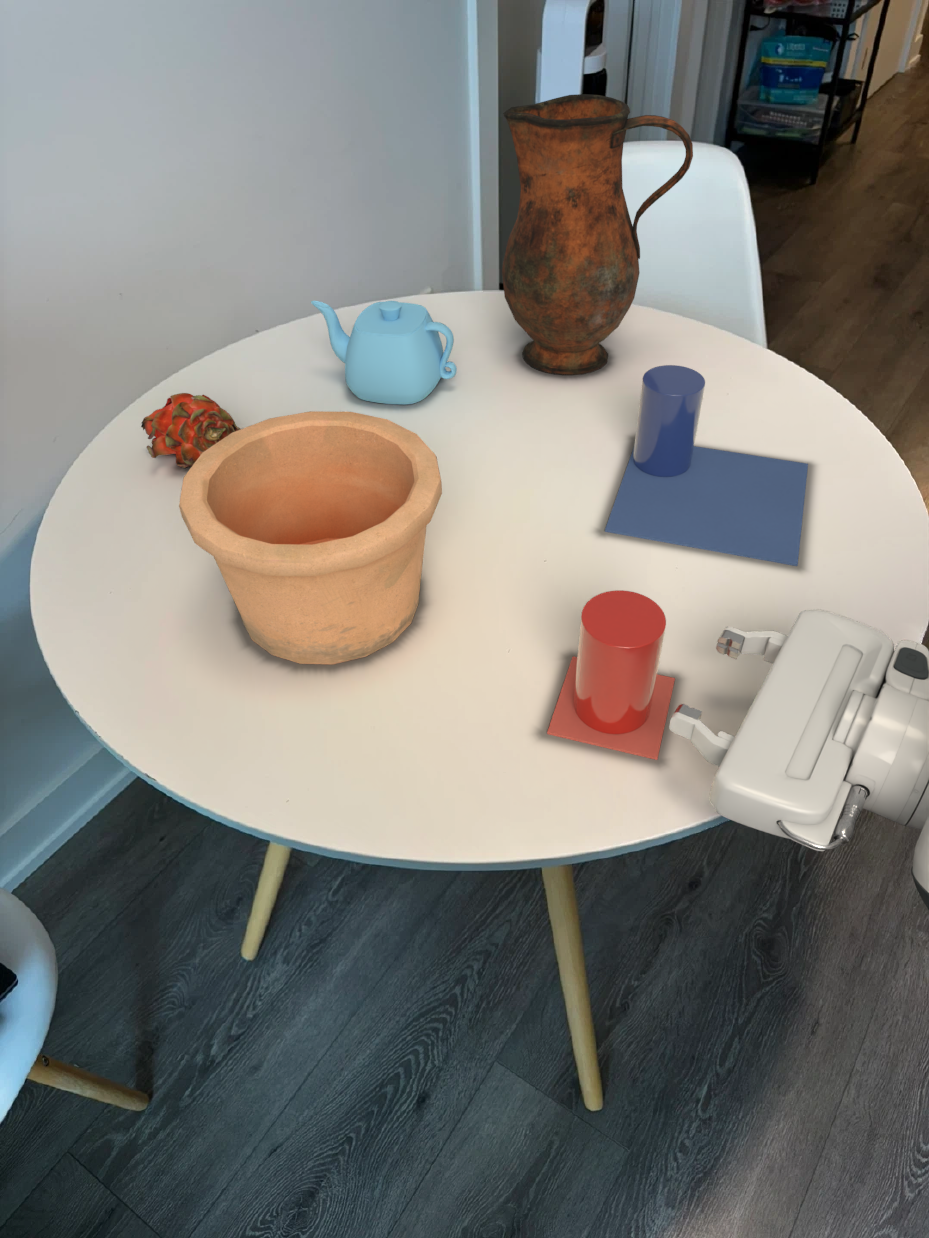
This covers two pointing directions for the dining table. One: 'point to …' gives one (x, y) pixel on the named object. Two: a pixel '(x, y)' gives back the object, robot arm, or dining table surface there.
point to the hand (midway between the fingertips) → (697, 675)
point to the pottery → (317, 529)
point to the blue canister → (668, 420)
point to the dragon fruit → (187, 427)
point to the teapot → (391, 351)
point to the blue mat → (717, 505)
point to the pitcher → (574, 228)
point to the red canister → (618, 660)
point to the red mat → (635, 742)
